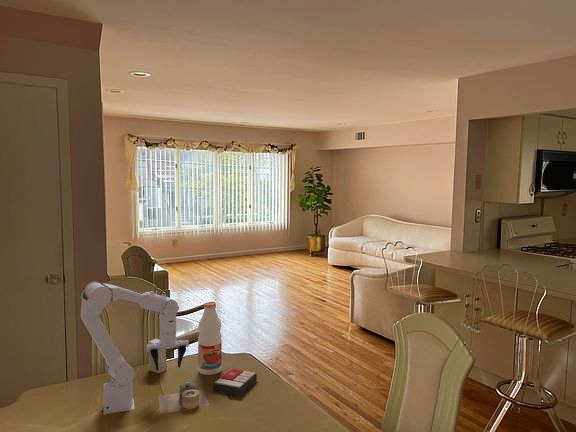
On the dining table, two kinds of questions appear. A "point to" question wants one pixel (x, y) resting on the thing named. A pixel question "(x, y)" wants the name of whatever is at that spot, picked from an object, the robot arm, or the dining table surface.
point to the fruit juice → (209, 341)
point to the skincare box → (161, 359)
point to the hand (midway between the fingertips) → (168, 367)
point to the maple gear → (190, 399)
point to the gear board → (180, 399)
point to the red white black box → (235, 382)
